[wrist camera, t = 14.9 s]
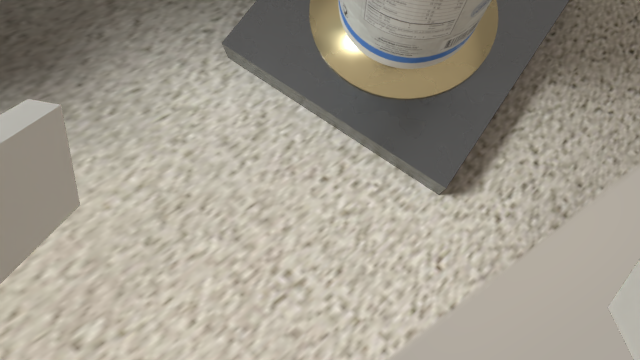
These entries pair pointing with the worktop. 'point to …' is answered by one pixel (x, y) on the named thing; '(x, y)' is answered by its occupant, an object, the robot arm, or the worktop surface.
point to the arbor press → (393, 79)
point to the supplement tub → (410, 29)
